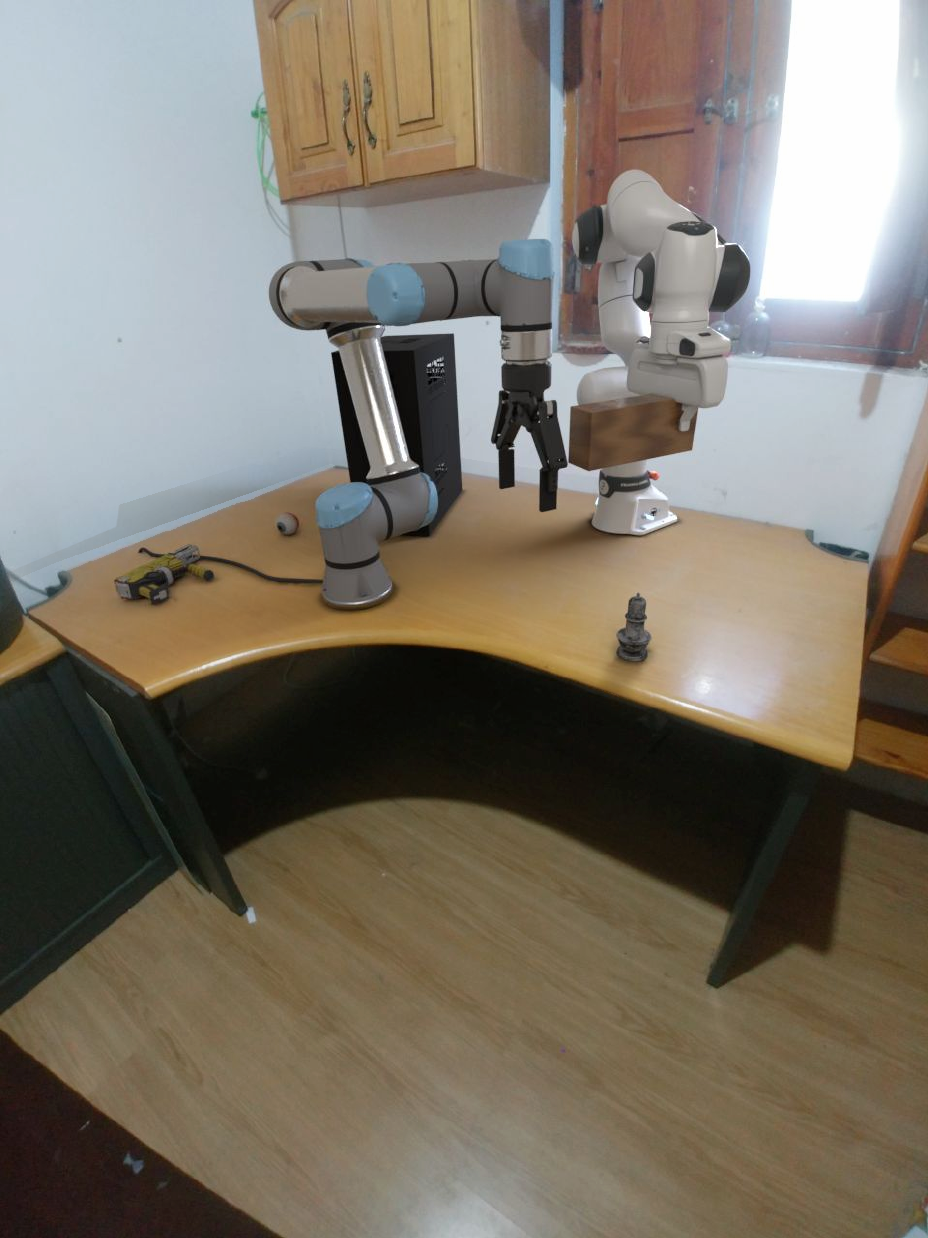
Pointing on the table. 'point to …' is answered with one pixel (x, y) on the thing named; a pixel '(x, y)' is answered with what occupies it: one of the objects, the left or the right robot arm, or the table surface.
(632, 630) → the grey chess piece
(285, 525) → the eyeball
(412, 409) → the black computer tower
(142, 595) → the toy gun
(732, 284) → the right robot arm
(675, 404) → the box
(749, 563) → the table surface
